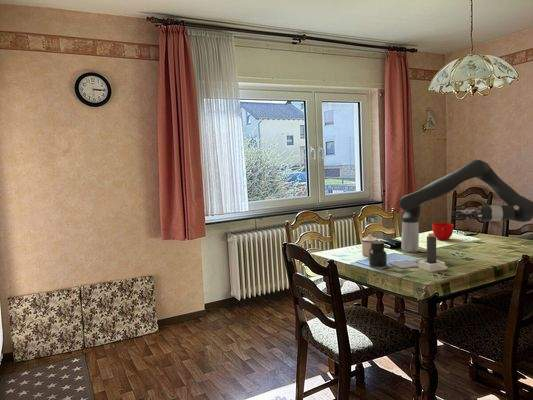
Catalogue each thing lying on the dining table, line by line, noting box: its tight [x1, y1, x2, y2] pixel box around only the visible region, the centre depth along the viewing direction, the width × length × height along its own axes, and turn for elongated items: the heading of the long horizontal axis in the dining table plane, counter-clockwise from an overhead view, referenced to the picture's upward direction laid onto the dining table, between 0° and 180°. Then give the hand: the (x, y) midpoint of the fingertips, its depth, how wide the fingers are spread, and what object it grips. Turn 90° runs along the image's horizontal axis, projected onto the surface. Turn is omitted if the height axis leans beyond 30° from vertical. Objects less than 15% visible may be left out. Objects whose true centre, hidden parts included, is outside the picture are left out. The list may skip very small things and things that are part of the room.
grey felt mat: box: [388, 259, 418, 270], centre depth 215 cm, size 12×12×1 cm
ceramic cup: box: [431, 222, 454, 241], centre depth 273 cm, size 13×17×10 cm
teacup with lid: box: [361, 234, 379, 257], centre depth 241 cm, size 12×9×12 cm
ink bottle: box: [368, 240, 388, 268], centre depth 217 cm, size 10×9×12 cm
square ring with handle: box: [417, 259, 448, 273], centre depth 203 cm, size 15×9×4 cm, turn 18°
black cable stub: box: [426, 232, 437, 264], centre depth 205 cm, size 4×4×18 cm
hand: (454, 214), depth 202 cm, fingers open, 8 cm apart
